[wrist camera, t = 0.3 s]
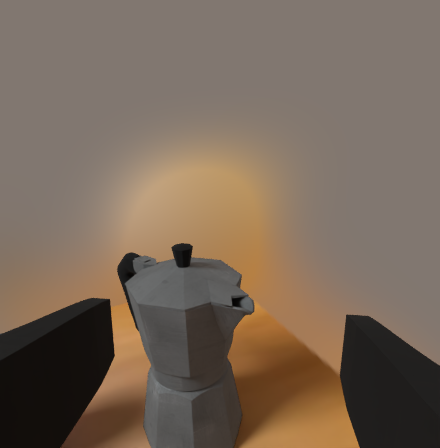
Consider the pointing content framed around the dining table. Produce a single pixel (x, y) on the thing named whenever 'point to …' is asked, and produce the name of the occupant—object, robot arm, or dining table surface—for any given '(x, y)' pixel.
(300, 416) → the dining table surface
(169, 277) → the coffeepot
